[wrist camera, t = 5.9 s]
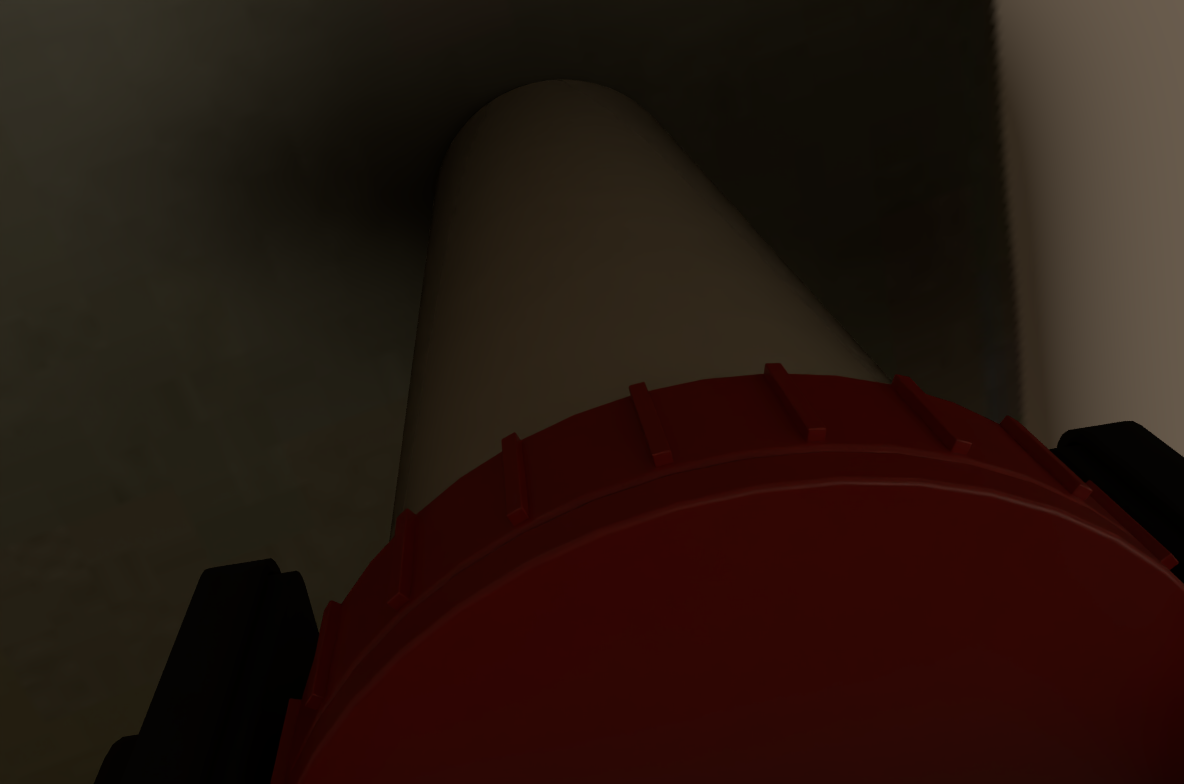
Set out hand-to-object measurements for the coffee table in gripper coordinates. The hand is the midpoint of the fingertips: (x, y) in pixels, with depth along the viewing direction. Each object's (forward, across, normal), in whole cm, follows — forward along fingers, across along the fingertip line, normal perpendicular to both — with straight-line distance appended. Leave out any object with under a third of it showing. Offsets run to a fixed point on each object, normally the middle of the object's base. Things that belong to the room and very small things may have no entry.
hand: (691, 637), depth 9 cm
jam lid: (-3, 0, 0) cm, 3 cm away
